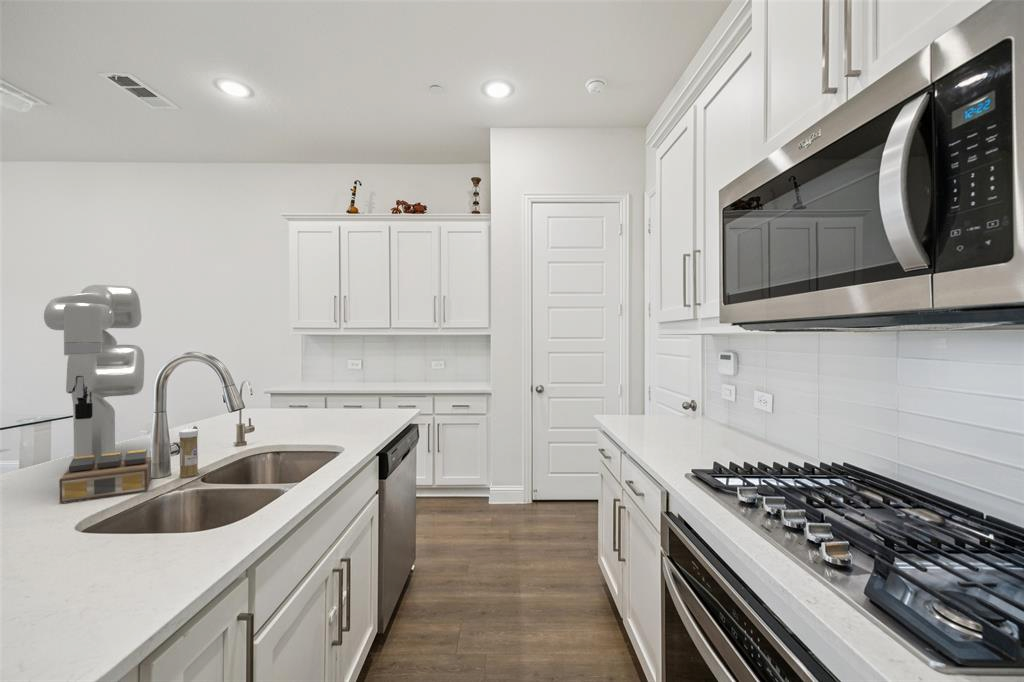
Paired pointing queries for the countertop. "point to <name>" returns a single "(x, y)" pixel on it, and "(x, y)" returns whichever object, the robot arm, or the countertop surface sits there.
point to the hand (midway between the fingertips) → (84, 418)
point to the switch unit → (105, 481)
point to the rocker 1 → (82, 463)
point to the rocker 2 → (109, 460)
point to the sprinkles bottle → (188, 452)
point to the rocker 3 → (135, 457)
